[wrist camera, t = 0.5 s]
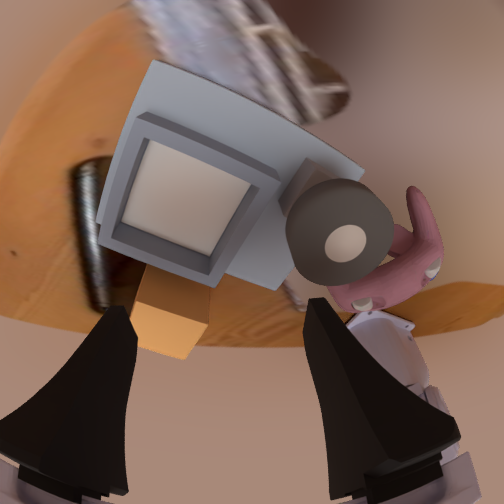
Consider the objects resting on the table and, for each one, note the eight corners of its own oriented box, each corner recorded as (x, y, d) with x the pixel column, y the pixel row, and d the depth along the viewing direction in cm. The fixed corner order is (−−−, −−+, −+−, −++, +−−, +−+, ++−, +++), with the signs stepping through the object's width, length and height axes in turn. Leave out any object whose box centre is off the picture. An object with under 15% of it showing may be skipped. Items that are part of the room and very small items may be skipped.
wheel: (379, 191, 15) (412, 225, 12) (330, 255, 17) (350, 297, 14) (311, 146, 13) (336, 171, 10) (261, 223, 16) (269, 265, 13)
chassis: (356, 162, 18) (379, 183, 15) (272, 278, 23) (278, 310, 20) (159, 60, 13) (142, 58, 10) (103, 211, 18) (84, 238, 15)
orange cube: (210, 276, 22) (208, 324, 18) (188, 313, 25) (184, 360, 21) (151, 253, 21) (136, 300, 17) (136, 295, 23) (123, 341, 19)
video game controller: (313, 255, 24) (344, 331, 20) (300, 232, 20) (339, 324, 17) (412, 207, 22) (451, 276, 18) (417, 176, 18) (468, 257, 14)
